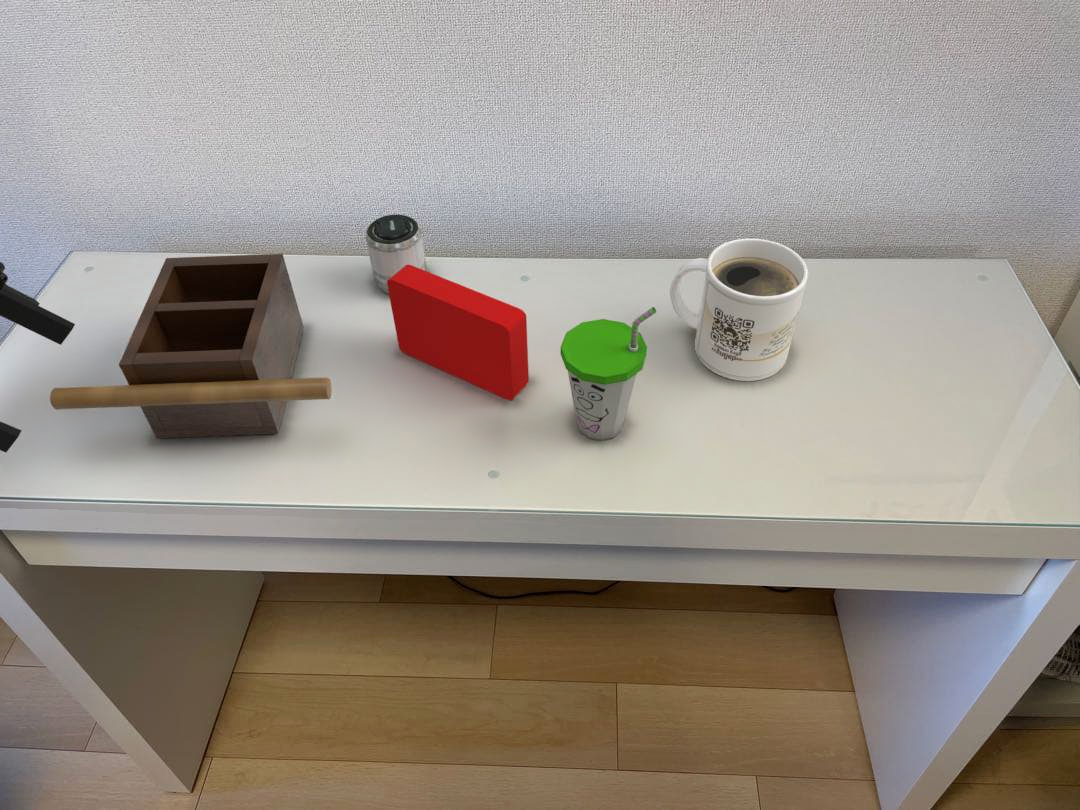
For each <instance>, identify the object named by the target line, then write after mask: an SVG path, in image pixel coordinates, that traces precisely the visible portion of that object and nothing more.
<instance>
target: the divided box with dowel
mask: <svg viewBox="0 0 1080 810" xmlns="http://www.w3.org/2000/svg"><path fill="white" fill-rule="evenodd" d="M304 327H305V326H304V324H303V319H302V316H301V312H300V309H299V306H298V303H297V298H296V296H295V292H294V288H293V285H292V282H291V278H290V275H289V271H288V268H287V264H286V261H285V257H284V254H283V253H265V254H238V255H235V254H234V255H211V256H210V255H209V256H182V257H180V256H179V257H166V258H165V260H164V262H163V264H162V266H161V268H160V271H159V272H158V275H157V278H156V280H155V282H154V283H153V287H152V289H151V290H150V293H149V296H148V297H147V300H146V302H145V304H144V307H143V309H142V311H141V314H140V316H139V318H138V320H137V323H136V324H135V326H134V328H133V331H132V334H131V336H130V338H129V340H128V342H127V345H126V347H125V350H124V352H123V354H122V356H121V357H120V360H119V363H118V367H119V368H120V370H121V372H122V374H123V376H124V378H125V380H126V382H127V384H120V385H119V384H118V385H117V384H116V385H115V384H114V385H91V386H90V385H89V386H67V387H66V386H64V387H54V388H52V389H51V391H50V395H49V402H50V405H51V407H52V408H53V410H54V409H55V410H76V409H77V410H79V409H80V410H83V409H105V408H106V409H108V408H131V407H132V408H133V407H139V408H140V409H141V411H142V413H143V415H144V417H145V419H146V420H147V423H148V425H149V426H150V429H151V430H152V432H153V434H154V436H155V438H156V439H171V438H196V437H197V438H198V437H220V436H224V437H225V436H245V435H246V436H248V435H249V436H250V435H273V434H275V435H276V434H279V433H280V428H281V423H282V419H283V416H284V411H285V407H286V402H291V401H292V402H293V401H317V400H319V401H322V400H330V399H331V397H332V391H333V390H332V382H331V378H329V377H306V378H305V377H304V378H292V377H293V373H294V371H295V370H294V369H295V365H296V361H297V357H298V352H299V348H300V344H301V340H302V336H303V331H304Z"/></svg>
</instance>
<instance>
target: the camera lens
mask: <svg viewBox="0 0 1080 810" xmlns="http://www.w3.org/2000/svg"><path fill="white" fill-rule="evenodd" d="M422 232H423V231H422V227H421V225H420V224H419V223H418V221H416V220H415V219H414V218H412V217H410V216H408V215H405V214H404V215H403V214H388V215H387V214H386V215H384V216H381V217H379V218H377V219H375V220H374V221H372V222H371V223H370V224H369V225H368V227H367V228H366V231H365V236H364V237H365V241H366V246H367V251H368V255H369V260H370V266H371V271H372V274H373V277H374V279H375V282H376V283H377V286H378V289H380V290H381V291H382V292H383V293H385V294H387V295H389V291H388V285H387V280H389V279H390V278H391V277H392V276H393V275H395V274H396V273H397V272H398V271H399V270H401V269H402V268H403V267H404V266H405V265H412V266H415V267H417V268H420V269H422V270H425V271H427V261H426V254H425V248H424V247H425V246H424V239H423V233H422Z"/></svg>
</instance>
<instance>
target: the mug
mask: <svg viewBox="0 0 1080 810" xmlns="http://www.w3.org/2000/svg"><path fill="white" fill-rule="evenodd" d="M692 272H702V273H705V274H704V279H703V285H702V293H701V299H700V307H699V314H698V315H697V314H696V313H694V312H693V311H691V310H690V308H688V306H687V305H686V304H685V301H684V300H683V298H682V295H681V282H682V278H683V277H684V276H686V275H687V274H689V273H692ZM808 279H809V270H808V267H807V264H806V262H805V260H804V259H803V257H801V255H799V253H797V252H796V251H794V250H793V249H791V248H790V247H789V246H786V245H784V244H782V243H779V242H776V241H773V240H769V239H762V238H754V237H753V238H752V237H751V238H748V237H747V238H738V239H733V240H729V241H727V242H724V243H722V244H719V246H717V247H716V248H714V249H713V251H711V252H710V254H709V256H708V258H704V257H698V258H693V259H690V260H688V261H686V262H685V263H683V264H682V265H681V267H680V268H679V269H678V271H677V272H676V273H675V275H673V278H672V280H671V283H670V287H669V299H670V304H671V306H672V309H673V311H674V313H675V314H676V316H677V317H678V318H679V319H680V320H681V321H682V322H683V323H684V324H685V325H686V326H688V327H690V328H691V329H692V328H693V329H695V330H696V331H695V332H696V333H695V340H694V350H695V354H696V356H697V358H698V360H699V361H700V362H701V363H702V365H704V366H705V368H707V369H708V370H710V371H711V372H712V373H714V374H716V375H718V376H720V377H723V378H726V379H730V380H733V381H740V382H753V381H760V380H765V379H767V378H770V377H772V376H774V375H776V374H777V373H778V372H779V371H780V370H781V369H783V367H784V366H785V364H786V362H787V360H788V357H789V352H790V348H791V346H792V345H791V344H792V341H793V337H794V334H795V330H796V325H797V322H798V317H799V314H800V310H801V307H802V306H801V305H802V302H803V298H804V294H805V290H806V287H807V283H808Z"/></svg>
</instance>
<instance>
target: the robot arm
mask: <svg viewBox="0 0 1080 810" xmlns="http://www.w3.org/2000/svg"><path fill="white" fill-rule="evenodd" d="M5 269H6V266H5V264H4V263H3V262H2V261H0V317H1V318H4V319H6V320H9V321H10V322H12V323H15V324H16V325H19V326H21V327H23V328H24V329H26V330H29V331H31V332H33V333H35V334H37V335H39V336H41V337H44V338H45V339H48V340H50V341H52V342H54V343H55V344H58V345H61V346H62V344H63V343H64V342H65V340H66V339H67V337H68V336H69V335H70V334H71V332H72V331H73V329H74V327H75V326H76V324H75V323H74V322H73V321H70V320H69V319H66V318H64V317H62V316H60V315H58V314H56V313H54V312H52V311H51V310H48V309H46V308H44V307H43V306H40V302H39V301H38V300H36V299H35V298H33V297H31V296H29V295H27V294H26V293H23V292H22V291H19V290H18V289H16V288H13V287H12V286H9V285H8V284H7V282H8V280H9V277H8V275H7V274H6V273H5V272H4V271H5ZM22 431H23V430H22V429H19V428H17V427H15V426H13V425H10V424H8V423H5V422H3V421H1V420H0V452H3V453H7V452H8V451H9V450H10V448H12V446H13V444H14V443H15V442H16V440H18V438H19V437H20V434H21V432H22Z"/></svg>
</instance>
